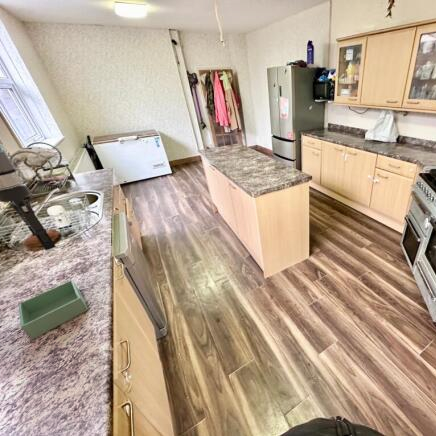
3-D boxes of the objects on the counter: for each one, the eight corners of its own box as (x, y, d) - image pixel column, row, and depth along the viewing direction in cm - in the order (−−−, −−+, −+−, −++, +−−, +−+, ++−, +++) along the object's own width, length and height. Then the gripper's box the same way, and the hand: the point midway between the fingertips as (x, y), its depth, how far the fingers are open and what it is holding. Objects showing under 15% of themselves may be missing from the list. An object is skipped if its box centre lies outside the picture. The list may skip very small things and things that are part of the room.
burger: (21, 254, 81) (13, 243, 78) (40, 240, 89) (34, 229, 86) (53, 249, 82) (46, 238, 80) (70, 236, 90) (64, 225, 88)
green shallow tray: (28, 315, 76) (18, 303, 74) (79, 290, 85) (72, 279, 82) (32, 339, 68) (20, 327, 66) (88, 309, 77) (80, 298, 74)
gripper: (32, 188, 72) (69, 248, 82) (17, 178, 83) (51, 231, 94) (-4, 197, 66) (41, 259, 77) (-15, 184, 78) (25, 240, 88)
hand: (46, 244), depth 85 cm, fingers closed on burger, 10 cm apart
